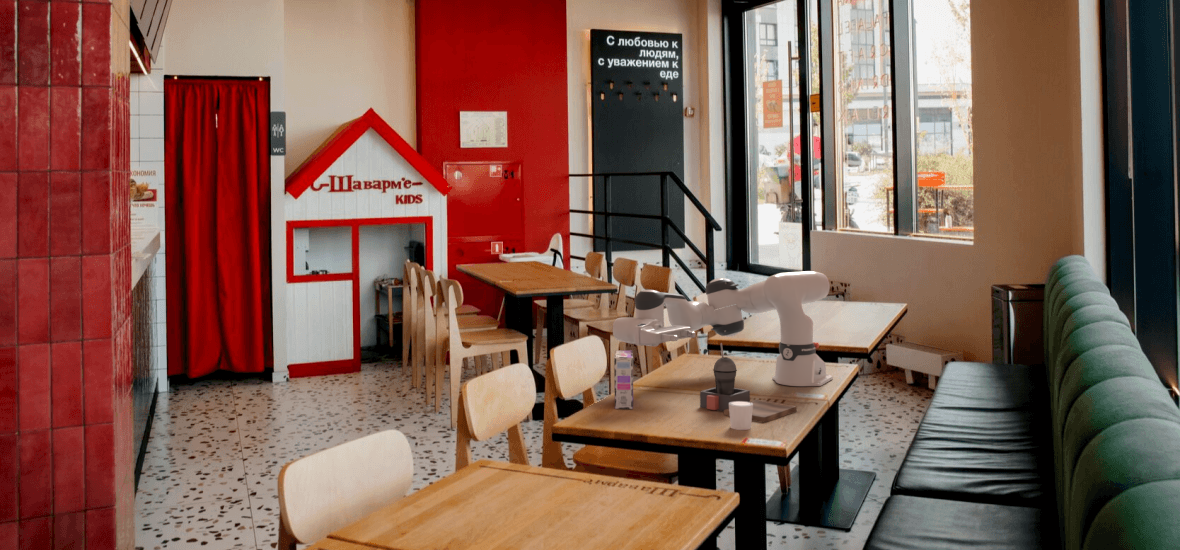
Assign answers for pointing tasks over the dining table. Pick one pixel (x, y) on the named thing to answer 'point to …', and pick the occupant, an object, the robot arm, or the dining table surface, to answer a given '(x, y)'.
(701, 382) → the dining table surface
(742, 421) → the white cup
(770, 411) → the walnut mat
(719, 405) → the dark grey open box
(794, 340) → the robot arm
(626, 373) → the candy box
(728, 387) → the beverage cup
